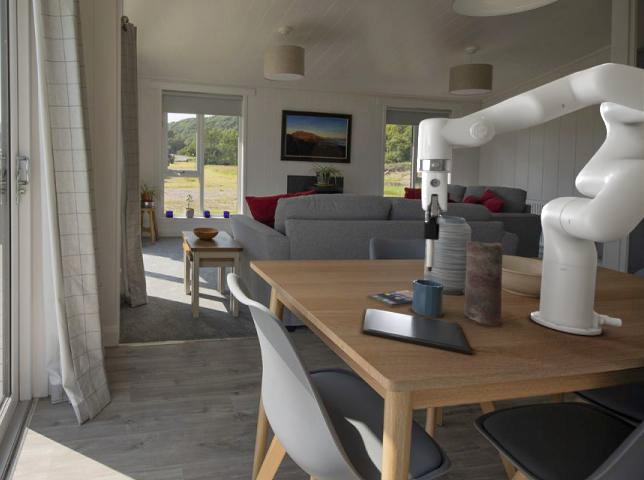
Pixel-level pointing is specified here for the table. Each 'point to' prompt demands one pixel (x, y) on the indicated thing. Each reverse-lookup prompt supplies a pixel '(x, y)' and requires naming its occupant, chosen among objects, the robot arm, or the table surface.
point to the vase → (450, 255)
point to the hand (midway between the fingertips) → (431, 238)
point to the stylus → (430, 254)
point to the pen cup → (427, 297)
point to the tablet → (415, 330)
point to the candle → (483, 282)
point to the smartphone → (395, 297)
